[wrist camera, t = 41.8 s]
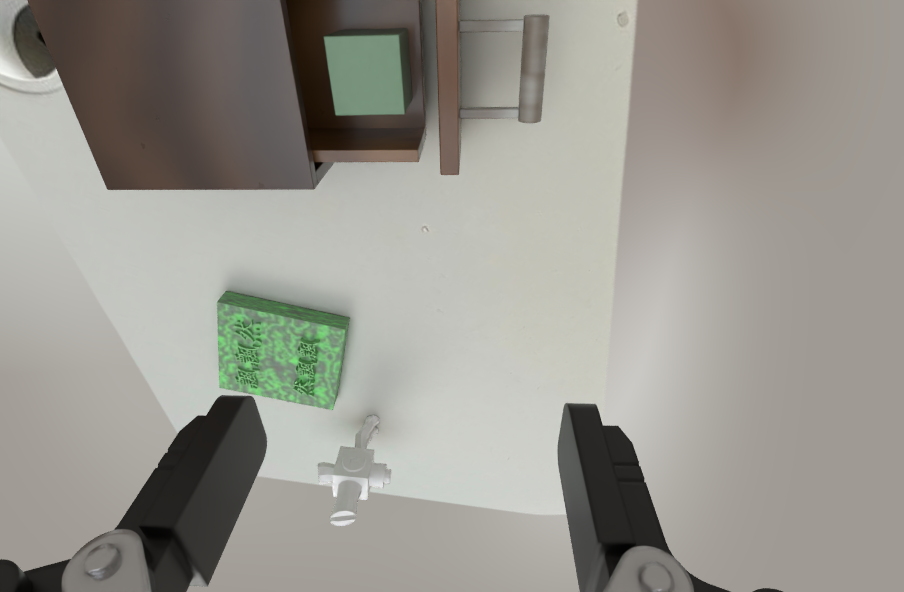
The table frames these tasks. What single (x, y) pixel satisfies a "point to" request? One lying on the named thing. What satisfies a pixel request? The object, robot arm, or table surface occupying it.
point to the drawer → (402, 136)
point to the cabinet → (184, 92)
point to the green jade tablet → (280, 350)
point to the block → (369, 71)
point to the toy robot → (354, 474)
